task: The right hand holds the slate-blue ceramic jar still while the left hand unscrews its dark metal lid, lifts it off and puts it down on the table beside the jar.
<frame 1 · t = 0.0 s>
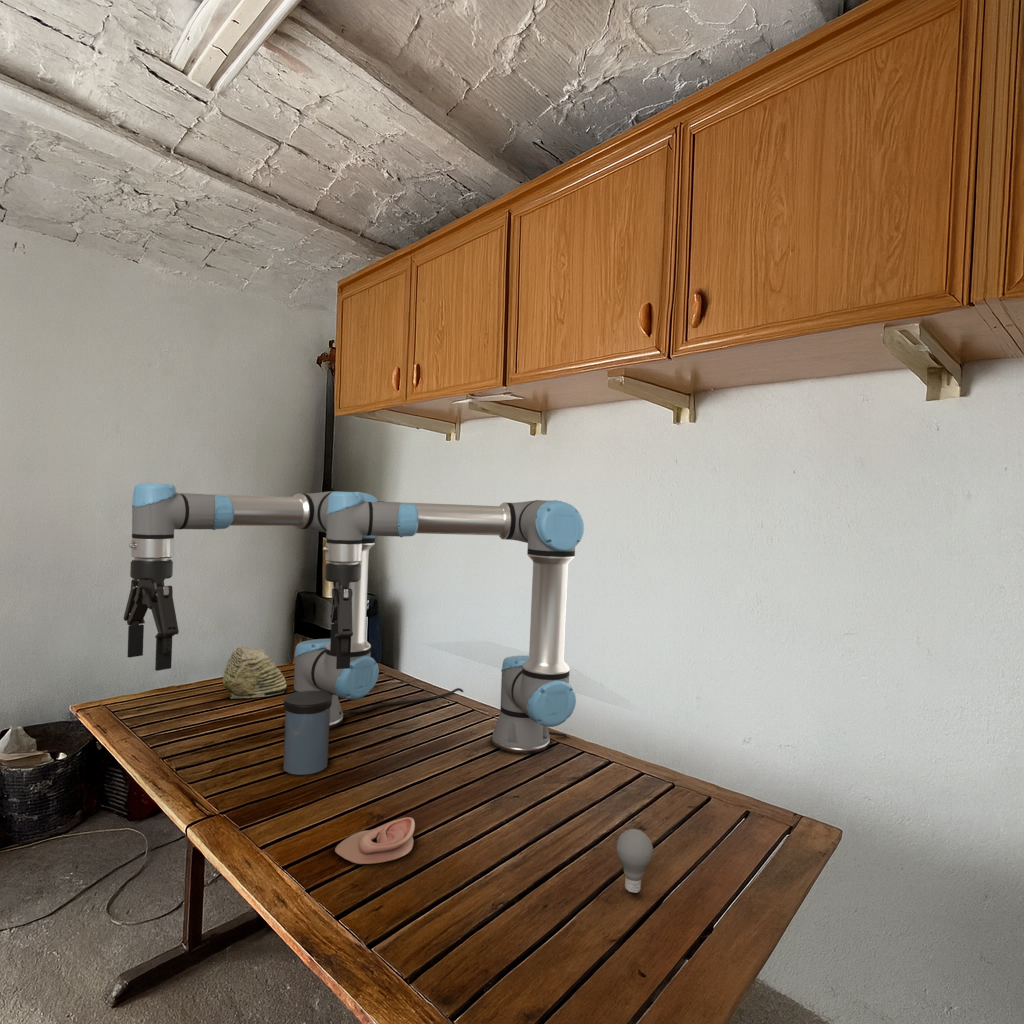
left hand: (148, 662, 129), 28 cm above the table, tool pointing down, fingers open, 13 cm apart
right hand: (339, 660, 138), 28 cm above the table, tool pointing down, fingers open, 13 cm apart
fossil: (254, 694, 198), on the table
lid: (308, 698, 148), point 16 cm above the table, screwed on, not yet turned
light bulb: (632, 891, 106), on the table
anatomical model: (375, 848, 115), on the table
jar: (305, 765, 149), on the table
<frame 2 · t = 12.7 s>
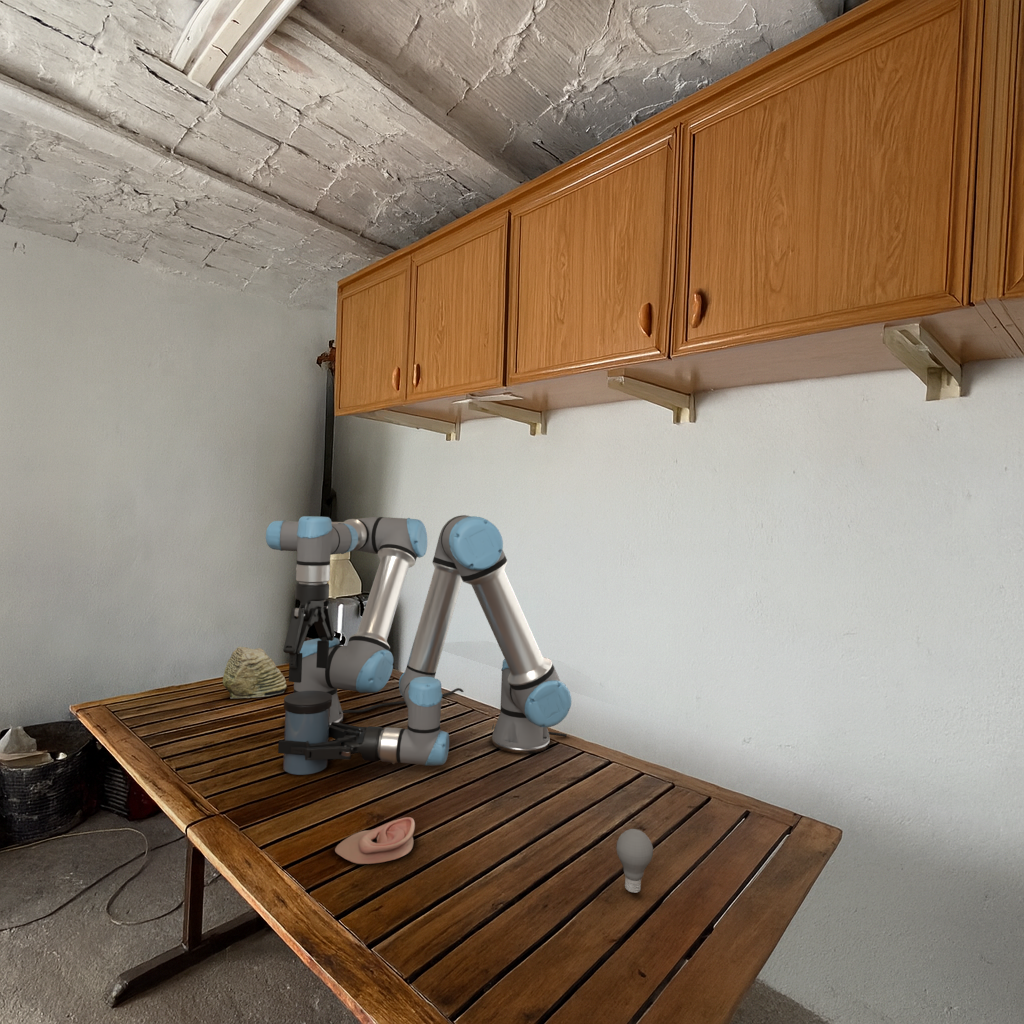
left hand: (309, 674, 148), 22 cm above the table, tool pointing down, fingers open, 12 cm apart
right hand: (288, 737, 149), 6 cm above the table, tool horizontal, fingers closed on jar, 10 cm apart
jar: (305, 765, 149), on the table, touching right hand
everything else where it was.
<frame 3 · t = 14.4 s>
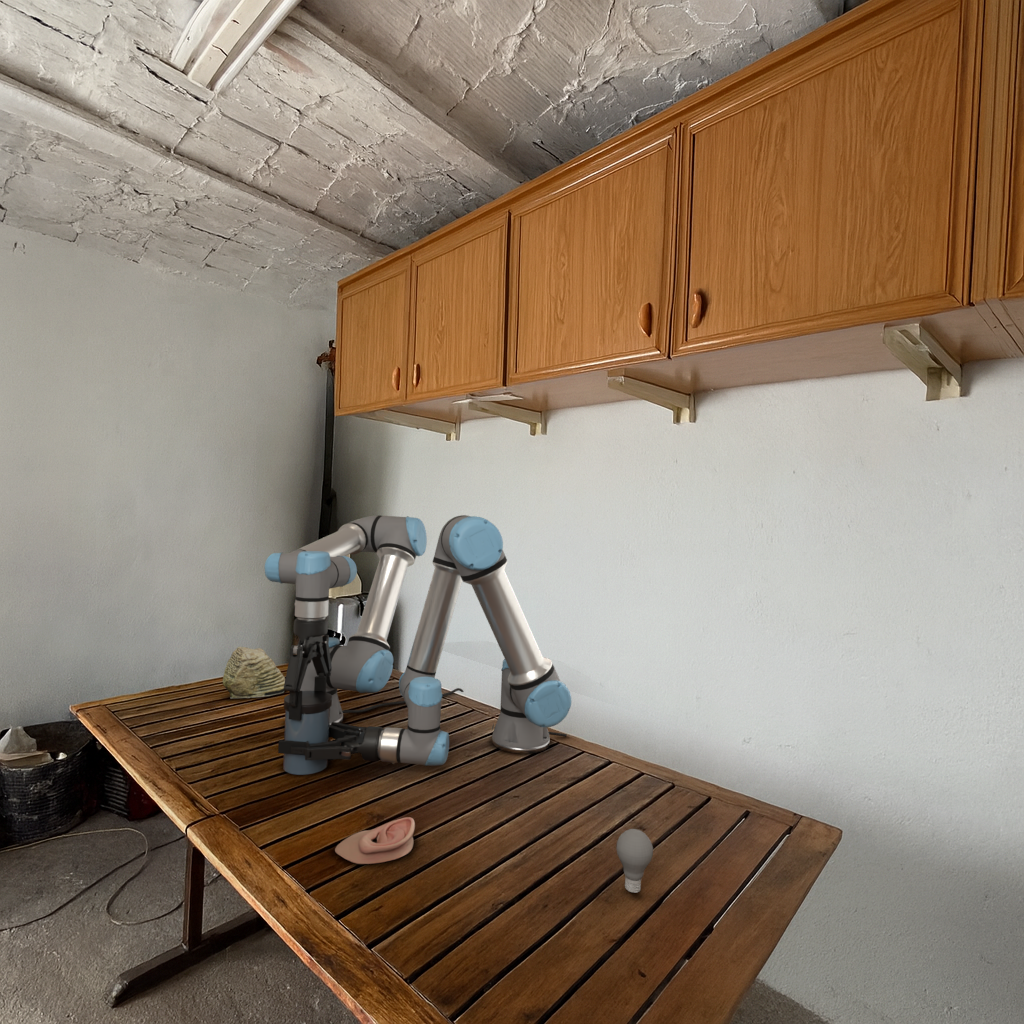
left hand: (307, 711, 148), 13 cm above the table, tool pointing down, fingers closed on lid, 11 cm apart
right hand: (289, 737, 149), 6 cm above the table, tool horizontal, fingers closed on jar, 10 cm apart
lid: (308, 698, 148), point 16 cm above the table, screwed on, not yet turned, touching left hand
jar: (305, 765, 149), on the table, touching right hand
everything else where it was.
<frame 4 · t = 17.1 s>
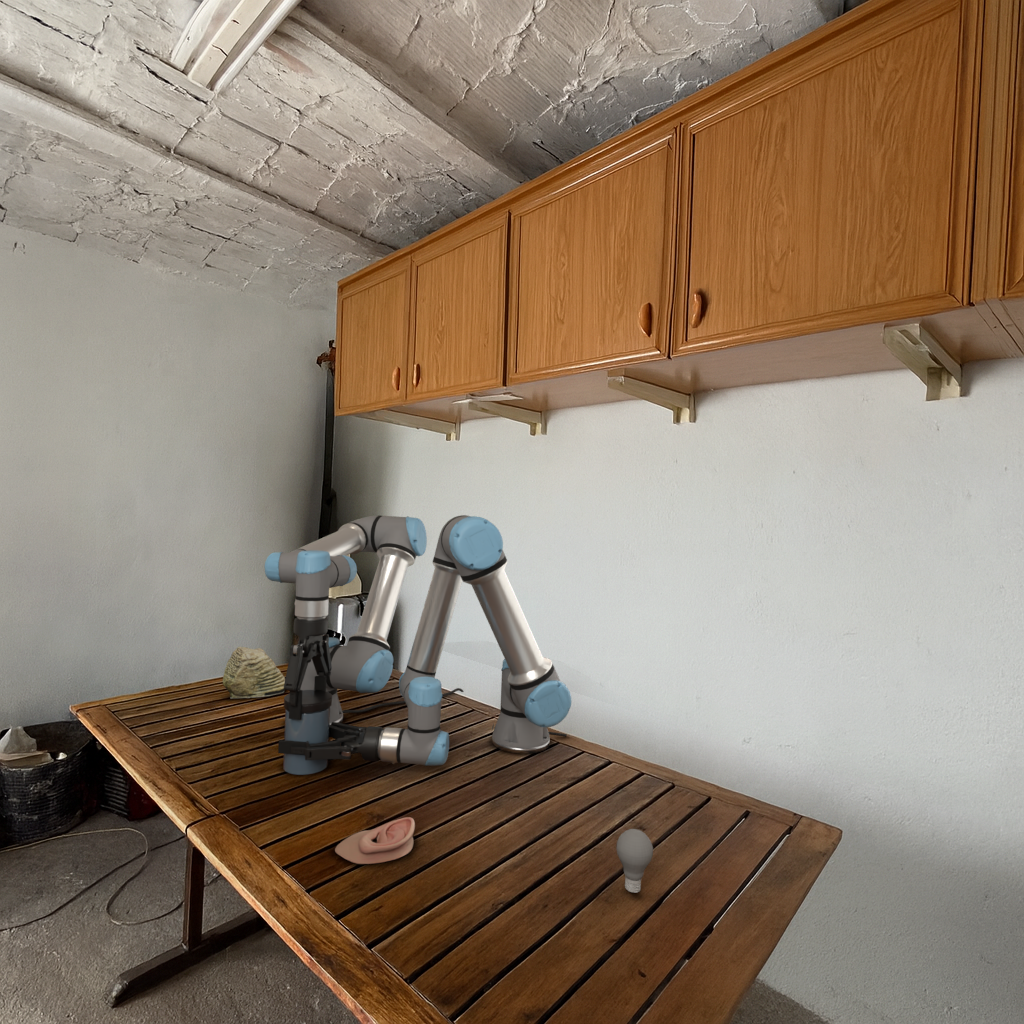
left hand: (307, 710, 148), 13 cm above the table, tool pointing down, fingers closed on lid, 11 cm apart
right hand: (289, 737, 149), 6 cm above the table, tool horizontal, fingers closed on jar, 10 cm apart
lid: (308, 698, 148), point 16 cm above the table, turned 64° so far, risen 0.2 cm, still on its thread, touching left hand
jar: (305, 765, 149), on the table, touching right hand
everything else where it was.
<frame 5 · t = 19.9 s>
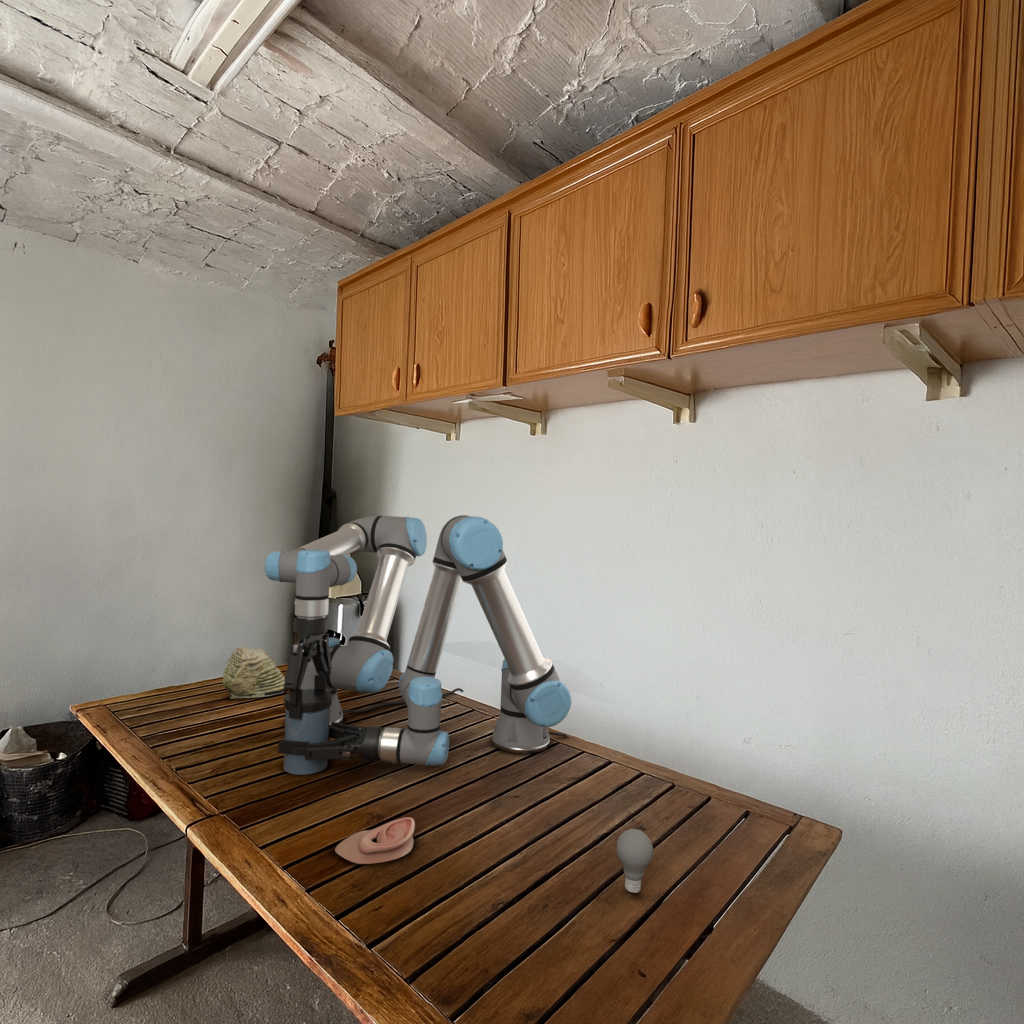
left hand: (307, 709, 148), 13 cm above the table, tool pointing down, fingers closed on lid, 11 cm apart
right hand: (289, 737, 149), 6 cm above the table, tool horizontal, fingers closed on jar, 10 cm apart
lid: (308, 697, 148), point 16 cm above the table, turned 129° so far, risen 0.4 cm, still on its thread, touching left hand
jar: (305, 765, 149), on the table, touching right hand
everything else where it was.
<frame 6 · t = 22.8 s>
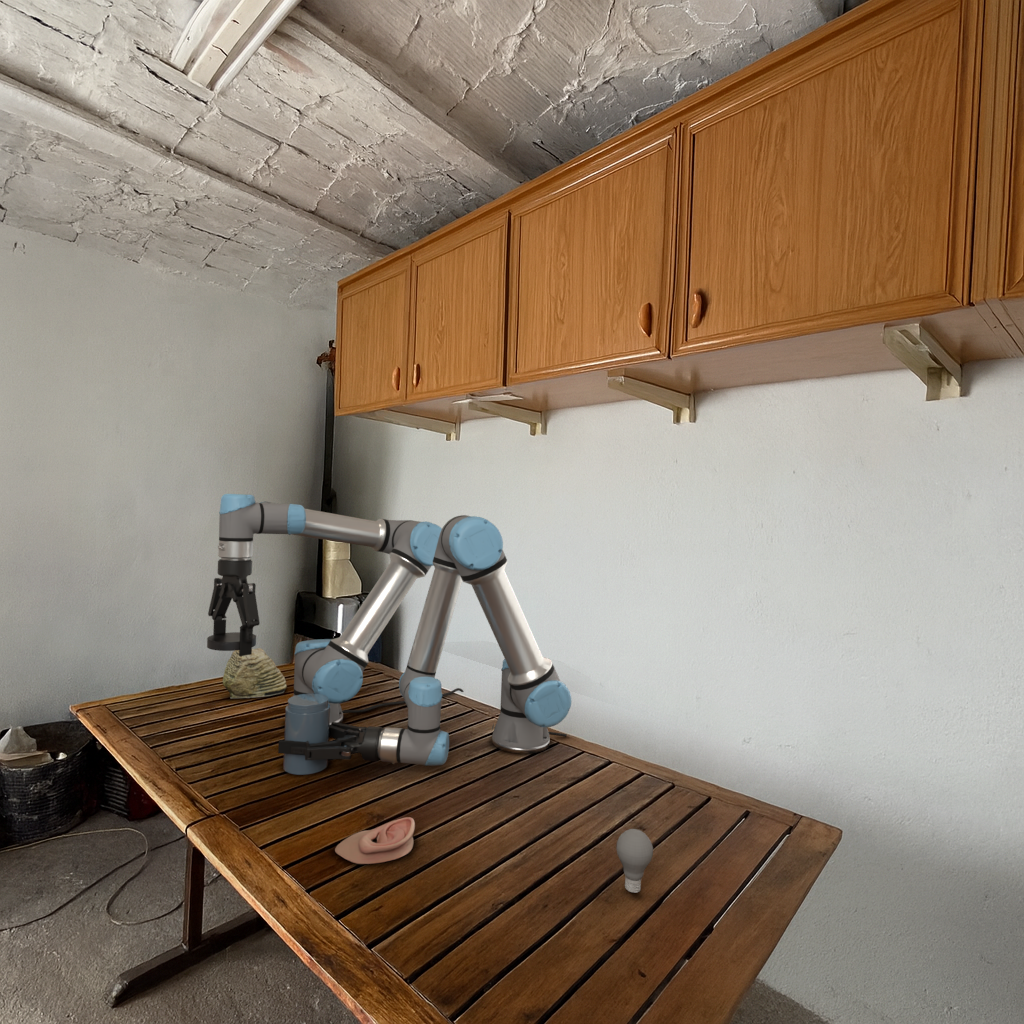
left hand: (231, 650, 151), 26 cm above the table, tool pointing down, fingers closed on lid, 11 cm apart
right hand: (289, 737, 149), 6 cm above the table, tool horizontal, fingers closed on jar, 10 cm apart
lid: (232, 638, 151), point 29 cm above the table, off its thread, touching left hand
jar: (305, 765, 149), on the table, touching right hand
everything else where it was.
when the left hand's fingers open (0 cm above the table, at t = 26.0 s): lid drops 2 cm, point 2 cm above the table.
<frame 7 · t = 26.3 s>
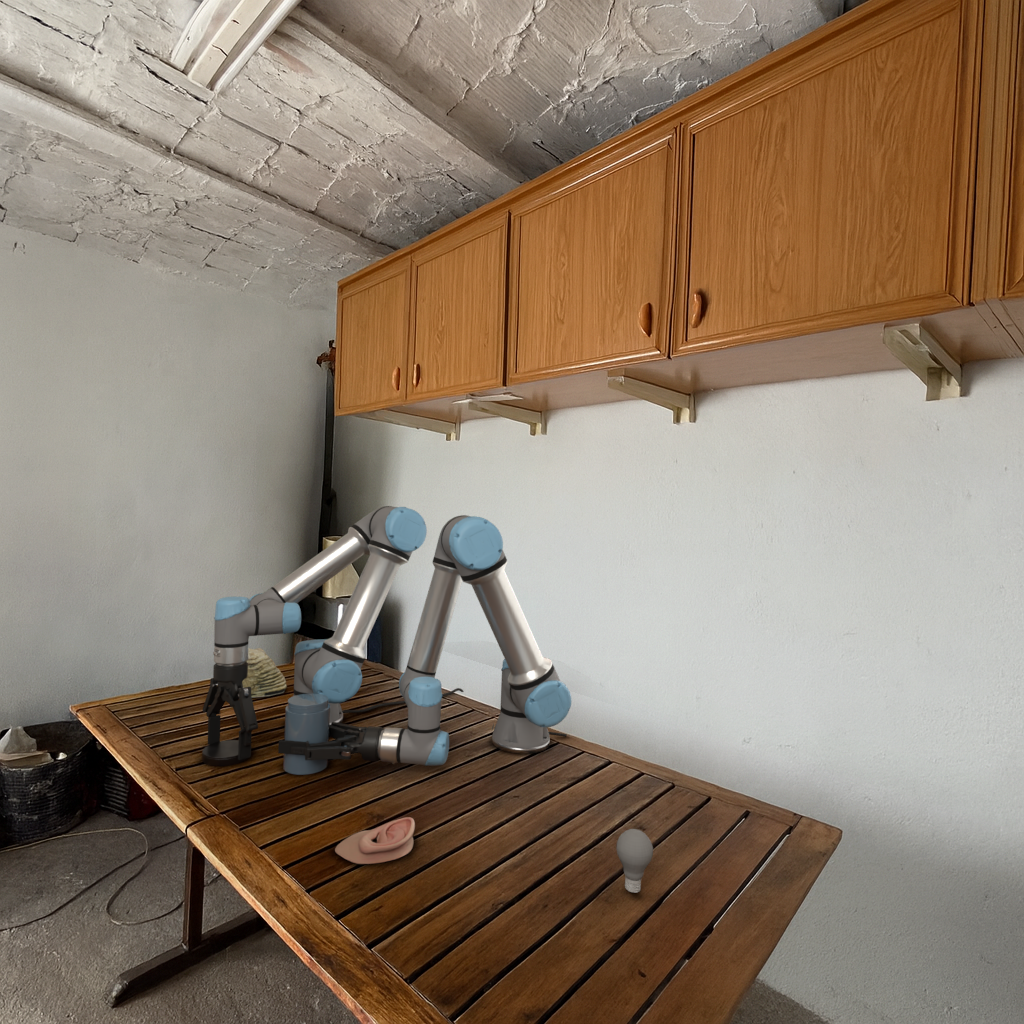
left hand: (228, 750, 152), 1 cm above the table, tool pointing down, fingers open, 13 cm apart
right hand: (289, 737, 149), 6 cm above the table, tool horizontal, fingers closed on jar, 10 cm apart
lid: (227, 749, 152), point 2 cm above the table, off its thread
jar: (305, 765, 149), on the table, touching right hand
everything else where it was.
when the right hand's fingers open (6 cm above the table, at t = 27.0 s): jar stays where it is, on the table.
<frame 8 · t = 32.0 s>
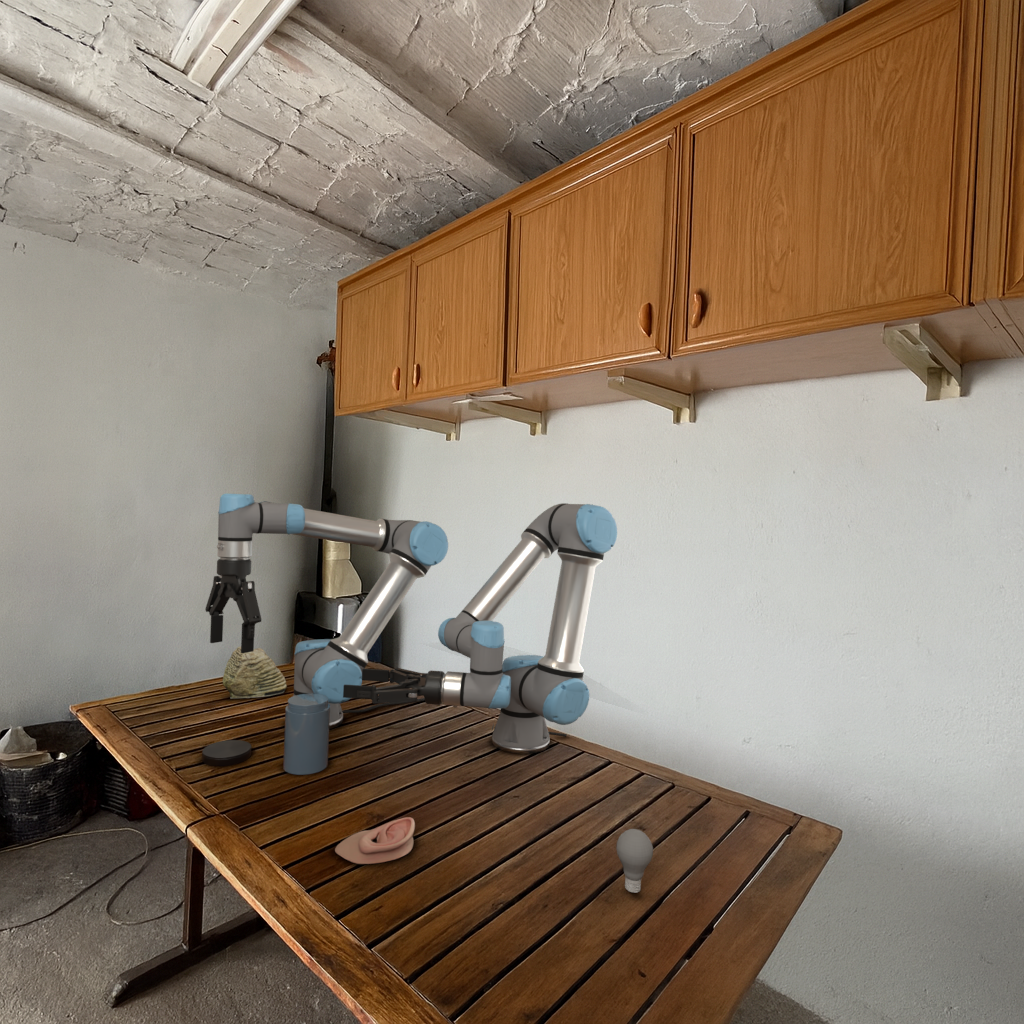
left hand: (231, 647, 151), 26 cm above the table, tool pointing down, fingers open, 13 cm apart
right hand: (353, 682, 147), 20 cm above the table, tool horizontal, fingers open, 13 cm apart
jar: (305, 765, 149), on the table
everything else where it was.
at the end: lid came off its thread; lid point 1.7 cm above the table; the left hand is holding nothing; the right hand is holding nothing; jar tilted 0°; jar moved 0.0 cm from its start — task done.
